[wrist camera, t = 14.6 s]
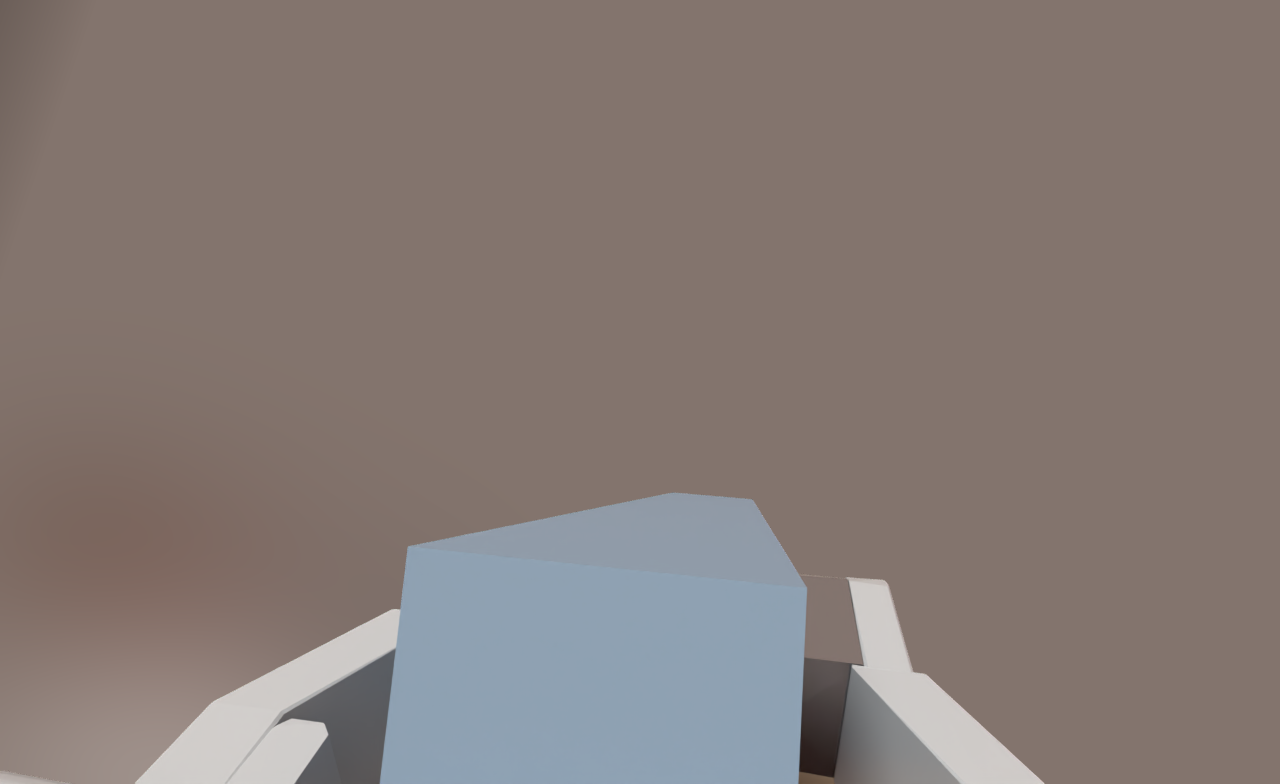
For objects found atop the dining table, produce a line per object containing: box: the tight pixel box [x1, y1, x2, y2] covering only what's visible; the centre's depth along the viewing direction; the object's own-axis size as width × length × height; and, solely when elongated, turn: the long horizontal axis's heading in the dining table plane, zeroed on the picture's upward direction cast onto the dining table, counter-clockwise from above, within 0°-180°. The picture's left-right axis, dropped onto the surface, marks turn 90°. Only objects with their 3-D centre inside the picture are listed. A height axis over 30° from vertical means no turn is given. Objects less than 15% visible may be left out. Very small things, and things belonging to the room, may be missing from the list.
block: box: [380, 493, 807, 784], centre depth 14 cm, size 20×3×3 cm, turn 171°
